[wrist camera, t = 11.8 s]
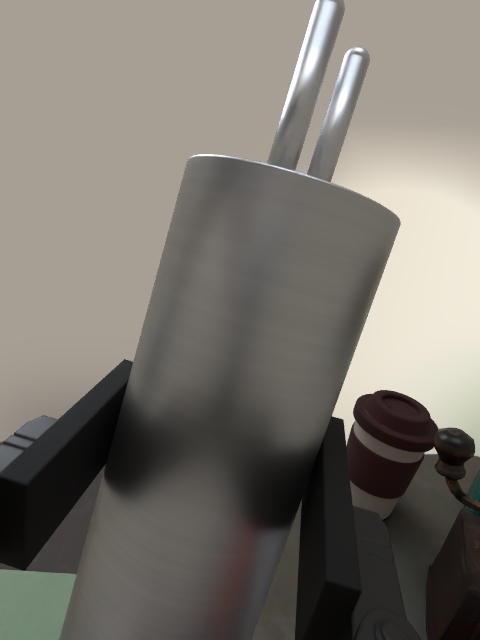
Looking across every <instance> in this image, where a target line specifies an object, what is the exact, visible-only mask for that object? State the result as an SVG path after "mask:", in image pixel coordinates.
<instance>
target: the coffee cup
mask: <svg viewBox="0 0 480 640" xmlns="http://www.w3.org/2000/svg"><path fill="white" fill-rule="evenodd" d="M353 415H354V418H355V420H356V421H355V422H354V424H353V425H352V428H351V432H350V435H349V439H348V443H347V446H346V449H347V458H348V467H349V476H350V485H351V494H352V503H353V506H356V507H359V508H363V509H366V510H369V511H373V512H376V513H378V514H379V516H380V517H381V519H382V520H383V519H385V518H387V517H388V516H389V515H390V514H391V512H392V511H393V509H394V507H395V505H396V503H397V501H398V500H399V498H400V497H401V496H402V495H403V494H404V493H405V491H406V489H407V488H408V486H409V484H410V482H411V480H412V479H413V477H414V475H415V473H416V471H417V470H418V468H419V466H420V464H421V462H422V461H423V458H424V453H425V452H427V451H429V450H431V449H432V448H433V447H434V446H433V444H432V437H433V436H434V435H435V434H436V433H437V431H438V427H437V425H436V424H435V423H434V421H433V420H432V419H431V418H430V414H429V412H428V410H427V409H426V408H425V407H424V406H423V405H422V404H420V403H419V402H417V401H416V400H414V399H413V398H411V397H408V396H406V395H404V394H401V393H398V392H395V391H388V390H380V391H377V392H375V393H374V394H366V395H363V396H361V397H359V398H358V399H357V401H356V404H355V407H354V411H353Z"/></svg>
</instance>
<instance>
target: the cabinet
mask: <svg viewBox="0 0 480 640" xmlns="http://www.w3.org/2000/svg"><path fill="white" fill-rule="evenodd" d="M76 575H77V574H64V573H48V572H32V571H16V570H0V640H59V638H60V634H61V631H62V627H63V623H64V619H65V616H66V612H67V608H68V604H69V601H70V597H71V593H72V590H73V586H74V582H75V578H76Z"/></svg>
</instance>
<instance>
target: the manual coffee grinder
mask: <svg viewBox="0 0 480 640" xmlns="http://www.w3.org/2000/svg"><path fill="white" fill-rule="evenodd" d="M432 444H433V446H434V447H435V449H436V451H437V453H438V455H439V460H438V462H437V463H436V464H435V468H436V470H437V472H438V473H439V474H440V475H442V476H445V478H446V483H447V485H448V487H449V489H450V491H451V493H452V494H453V495H454V496H455V497H456V498H457V500H459V501H460V502H461V503H463V504H464V505H465V506H467V507H469V508H471V509H473V510H475V511H477V512H480V502H478V501H476V500H474V499H472V498H470V497H469V496H467V495H466V494H465V493H464V492H463V491H462V489H461V488H460V486H459V483H458V481H457V480H459V479H462V478H463V477H465V473H466V471H465V469H464V463H465V462H466V461H467V460H468V459H470V458H472V457H473V455H474V453H475V444H474V440H473V439H472V438H471V437H470V436H469V435H468V434H466V433H465V432H464V431H463V430H460V429H457V428H443V429H439V430H438V431H437V433H436V434H435V435H434V436H433V437H432ZM426 629H427V636H428V640H480V516H478V515H476V514H474V513H472V512H469V511H467V510H465V509H462V510H461V511H460V512H459V515H458V517H457V519H456V521H455V523H454V525H453V526H452V528H451V530H450V532H449V534H448V536H447V538H446V540H445V542H444V544H443V546H442V548H441V550H440V552H439V554H438V556H437V557H436V559H435V561H434V562H433V564H432V565H431V566H429V574H428V580H427V587H426Z"/></svg>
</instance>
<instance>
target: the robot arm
mask: <svg viewBox="0 0 480 640" xmlns="http://www.w3.org/2000/svg"><path fill="white" fill-rule="evenodd" d="M132 365H133V362H131V361H128V360H125V359H124V360H123V361H122V362H121V363H120V364H119V365H118V366H117V367H116V368H115V369H114V370H112V371H111V372H110V373H109V374H108V375H107V376H106V377H105V378H103V379H102V380H101V381H100V382H99V383H98V384H97V385H96V386H95V387H94V388H92V389H91V390H90V391H89V392H88V393H87V394H86V395H85V396H84V397H83V398H81V399H80V401H78V402H77V403H76V404H75V405H74V406H73V407H72V408H70V410H68V411H67V412H66V413H65V414H64V415H63V416H62V417H60V418H59V419H54V418H51V417H48V416H41V417H39V418H36V419H34V420H32V421H29V422H27V423H26V424H24V425H23V426H22V427H21V428H20V429H18V430H17V431H16V432H15V433H14V435H11V436H10V437H9V438H7V439H6V440H5V441H4V443H3V444H0V563H3V564H6V565H9V566H12V567H15V568H18V569H21V570H24V571H25V570H26V568H27V567H28V566H29V564H30V563H31V562H32V560H33V559H34V558H35V557H36V555H37V554H38V553H39V551H40V550H41V549H42V547H43V546H44V545H45V543H46V542H47V541H48V539H49V538H50V537H51V535H52V534H53V533H54V531H55V530H56V529H57V527H58V526H59V525H60V524H61V522H62V521H63V520H64V518H65V517H66V516H67V514H68V513H69V512H70V510H71V509H72V508H73V506H74V505H75V504H76V502H77V501H78V500H79V498H80V497H81V496H82V494H83V493H84V492H85V491H86V489H87V488H88V487H89V485H90V484H91V483H92V481H93V480H94V479H95V477H96V476H97V475H98V473H99V472H100V471H101V469H102V468H103V467H104V465H105V464H106V463H107V459H108V455H109V451H110V448H111V444H112V440H113V436H114V433H115V429H116V425H117V421H118V418H119V414H120V410H121V407H122V403H123V399H124V395H125V392H126V388H127V384H128V380H129V377H130V373H131V369H132ZM295 640H421V639H420V637H419V635H418V634H417V632H416V631H415V630H414V628H413V627H412V626H411V624H410V623H409V622H408V621H407V618H406V615H405V610H404V605H403V600H402V595H401V590H400V585H399V581H398V576H397V571H396V566H395V563H394V556H393V551H392V549H391V541H390V537H389V532H388V529H387V527H386V525H385V524H384V522H383V520H382V519H381V517H380V516H379V514H378V513H376V512H373V511H369V510H366V509H363V508H359V507H356V506H353V503H352V494H351V485H350V476H349V467H348V458H347V449H346V440H345V431H344V423H343V420H342V419H339V418H336V417H332V416H331V419H330V422H329V424H328V427H327V430H326V433H325V436H324V438H323V441H322V444H321V447H320V449H319V452H318V455H317V458H316V461H315V463H314V466H313V469H312V472H311V474H310V477H309V480H308V483H307V486H306V488H305V491H304V494H303V497H302V508H301V528H300V548H299V569H298V589H297V609H296V629H295Z"/></svg>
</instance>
